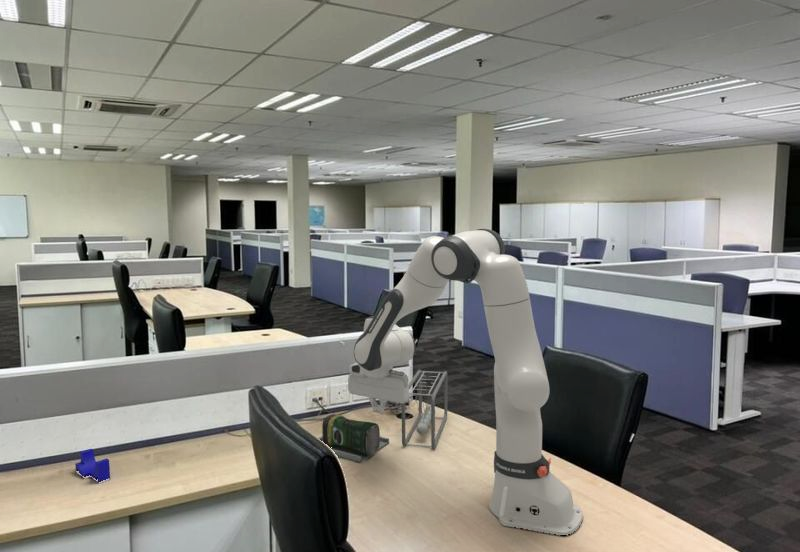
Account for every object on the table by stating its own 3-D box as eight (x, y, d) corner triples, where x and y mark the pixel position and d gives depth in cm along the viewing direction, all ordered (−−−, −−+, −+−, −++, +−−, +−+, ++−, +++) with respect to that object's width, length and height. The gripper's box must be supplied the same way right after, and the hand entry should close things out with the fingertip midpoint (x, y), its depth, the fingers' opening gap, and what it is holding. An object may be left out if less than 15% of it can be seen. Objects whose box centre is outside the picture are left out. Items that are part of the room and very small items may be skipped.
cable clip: (76, 473, 164) (74, 453, 164) (92, 468, 168) (91, 448, 167) (93, 486, 157) (92, 465, 156) (110, 480, 160) (109, 459, 159)
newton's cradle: (419, 415, 209) (418, 368, 207) (447, 417, 206) (447, 369, 204) (401, 448, 180) (401, 393, 178) (434, 451, 177) (434, 396, 175)
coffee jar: (381, 420, 176) (333, 409, 185) (366, 429, 169) (317, 417, 179) (381, 450, 177) (334, 438, 187) (366, 460, 170) (318, 446, 180)
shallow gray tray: (389, 443, 183) (389, 438, 183) (360, 463, 169) (359, 457, 169) (338, 431, 193) (338, 426, 193) (307, 449, 179) (307, 443, 179)
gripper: (413, 370, 170) (413, 415, 171) (356, 360, 180) (357, 403, 182) (402, 375, 165) (402, 421, 166) (344, 365, 175) (345, 409, 176)
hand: (378, 412), depth 174 cm, fingers closed
